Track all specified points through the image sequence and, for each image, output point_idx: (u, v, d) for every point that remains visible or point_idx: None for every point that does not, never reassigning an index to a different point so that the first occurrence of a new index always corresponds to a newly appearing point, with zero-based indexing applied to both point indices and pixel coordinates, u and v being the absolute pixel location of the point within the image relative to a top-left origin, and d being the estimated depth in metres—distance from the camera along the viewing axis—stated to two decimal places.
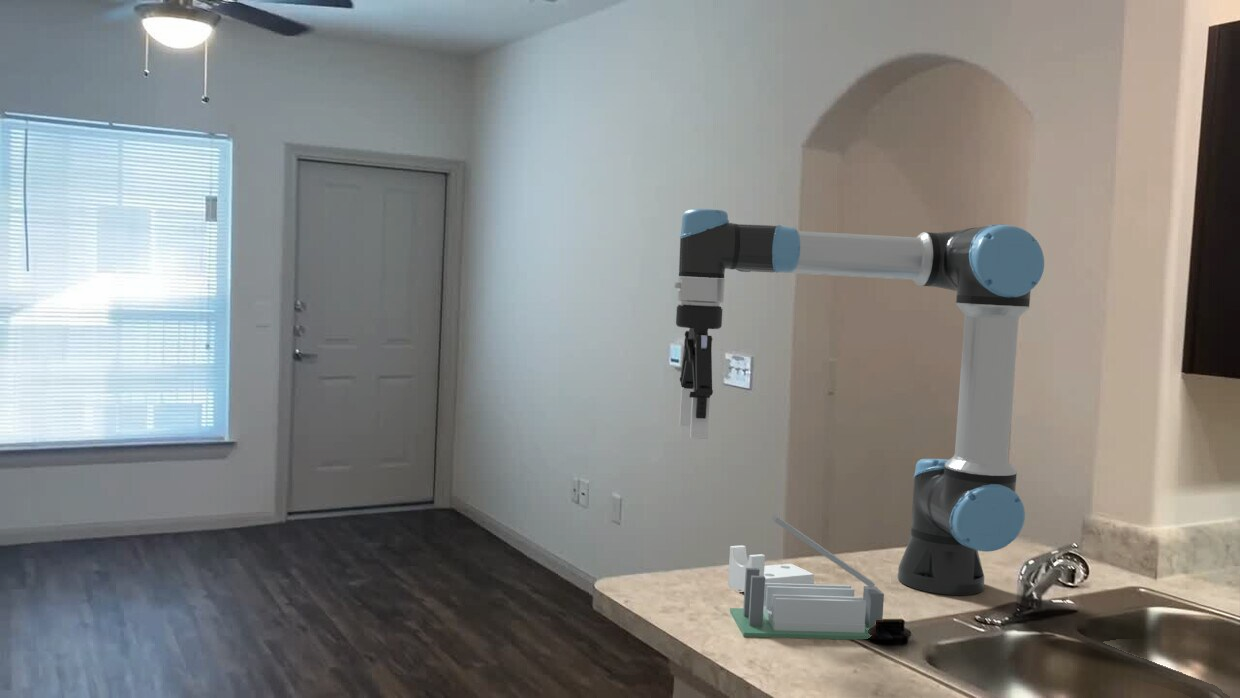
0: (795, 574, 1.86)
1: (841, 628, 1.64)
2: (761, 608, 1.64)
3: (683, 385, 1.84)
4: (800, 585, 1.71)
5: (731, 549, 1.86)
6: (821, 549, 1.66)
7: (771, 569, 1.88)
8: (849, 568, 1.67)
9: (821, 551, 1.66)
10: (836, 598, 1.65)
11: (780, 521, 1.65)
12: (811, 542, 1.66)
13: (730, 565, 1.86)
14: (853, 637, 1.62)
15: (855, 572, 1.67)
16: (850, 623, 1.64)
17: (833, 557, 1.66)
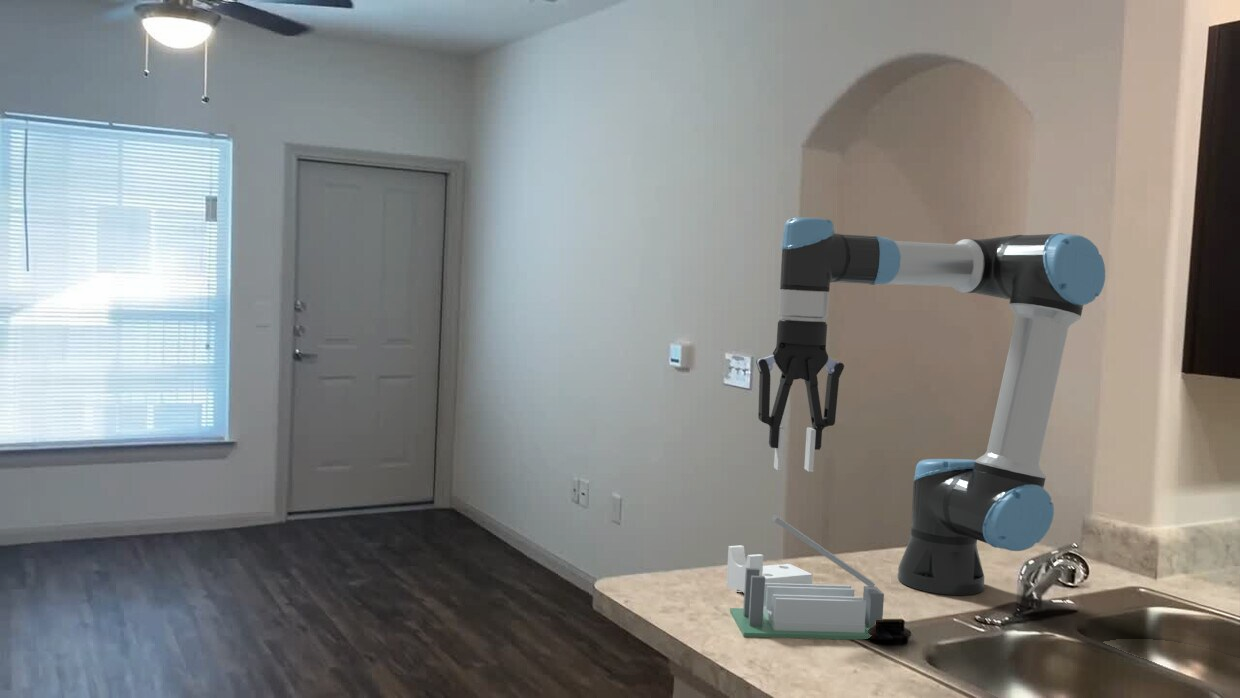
0: (793, 574, 1.85)
1: (841, 628, 1.64)
2: (761, 608, 1.64)
3: None
4: (800, 585, 1.71)
5: (729, 549, 1.86)
6: (821, 549, 1.66)
7: (769, 569, 1.87)
8: (849, 568, 1.67)
9: (821, 551, 1.66)
10: (836, 598, 1.65)
11: (780, 521, 1.65)
12: (811, 542, 1.66)
13: (728, 565, 1.86)
14: (853, 637, 1.62)
15: (855, 572, 1.67)
16: (850, 623, 1.64)
17: (833, 557, 1.66)
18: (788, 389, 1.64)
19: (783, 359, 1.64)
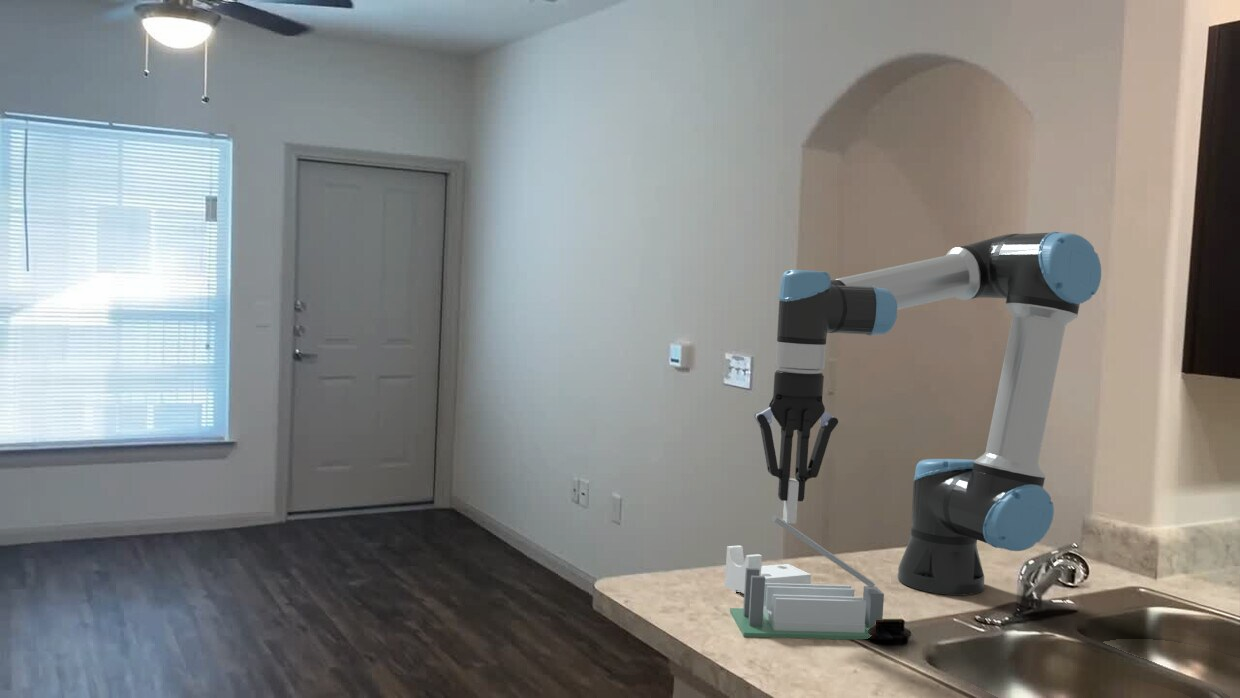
0: (792, 574, 1.85)
1: (841, 628, 1.64)
2: (761, 608, 1.64)
3: (795, 473, 1.67)
4: (800, 585, 1.71)
5: (728, 549, 1.86)
6: (821, 549, 1.66)
7: (767, 570, 1.87)
8: (849, 568, 1.67)
9: (821, 551, 1.66)
10: (836, 598, 1.65)
11: (780, 521, 1.65)
12: (811, 542, 1.66)
13: (727, 565, 1.86)
14: (853, 637, 1.62)
15: (855, 572, 1.67)
16: (850, 623, 1.64)
17: (833, 557, 1.66)
18: (790, 441, 1.64)
19: (780, 410, 1.64)
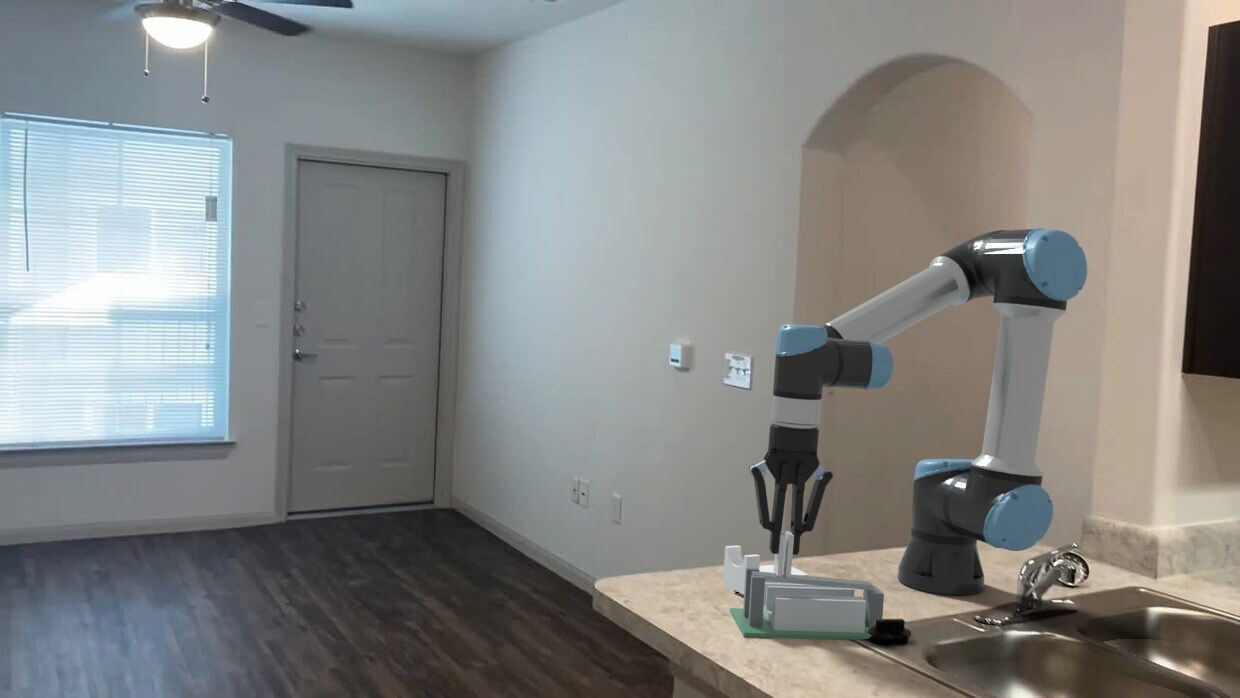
0: None
1: (841, 628, 1.64)
2: (761, 608, 1.64)
3: None
4: (800, 585, 1.71)
5: (726, 549, 1.86)
6: (808, 581, 1.66)
7: (766, 570, 1.87)
8: (842, 584, 1.67)
9: (809, 582, 1.66)
10: (836, 598, 1.65)
11: None
12: (796, 580, 1.66)
13: (725, 565, 1.86)
14: (853, 637, 1.62)
15: (850, 584, 1.67)
16: (850, 623, 1.64)
17: (823, 582, 1.66)
18: (784, 494, 1.65)
19: (775, 464, 1.65)
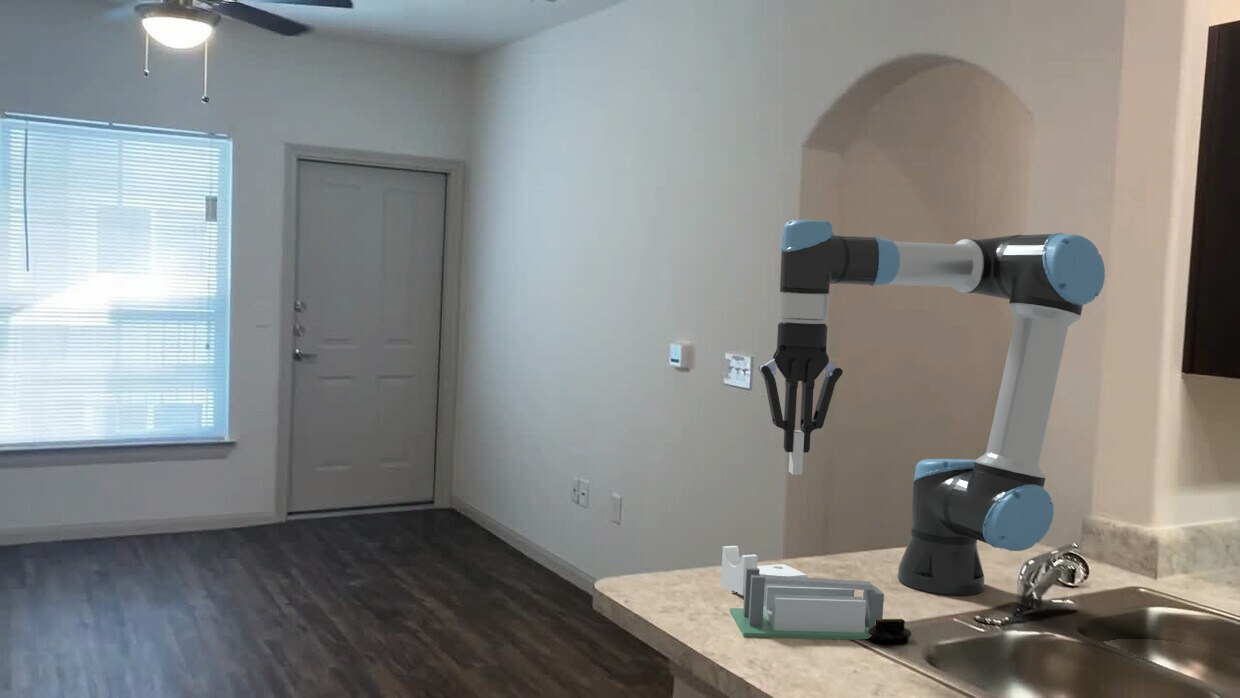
0: (787, 574, 1.85)
1: (841, 628, 1.64)
2: (761, 608, 1.64)
3: (800, 424, 1.67)
4: None
5: (724, 549, 1.86)
6: (808, 582, 1.66)
7: (763, 570, 1.87)
8: (842, 584, 1.67)
9: (809, 584, 1.66)
10: (836, 598, 1.65)
11: None
12: (796, 582, 1.66)
13: (723, 565, 1.86)
14: (853, 637, 1.62)
15: (850, 585, 1.67)
16: (850, 623, 1.64)
17: (823, 583, 1.66)
18: (795, 392, 1.64)
19: (784, 361, 1.64)
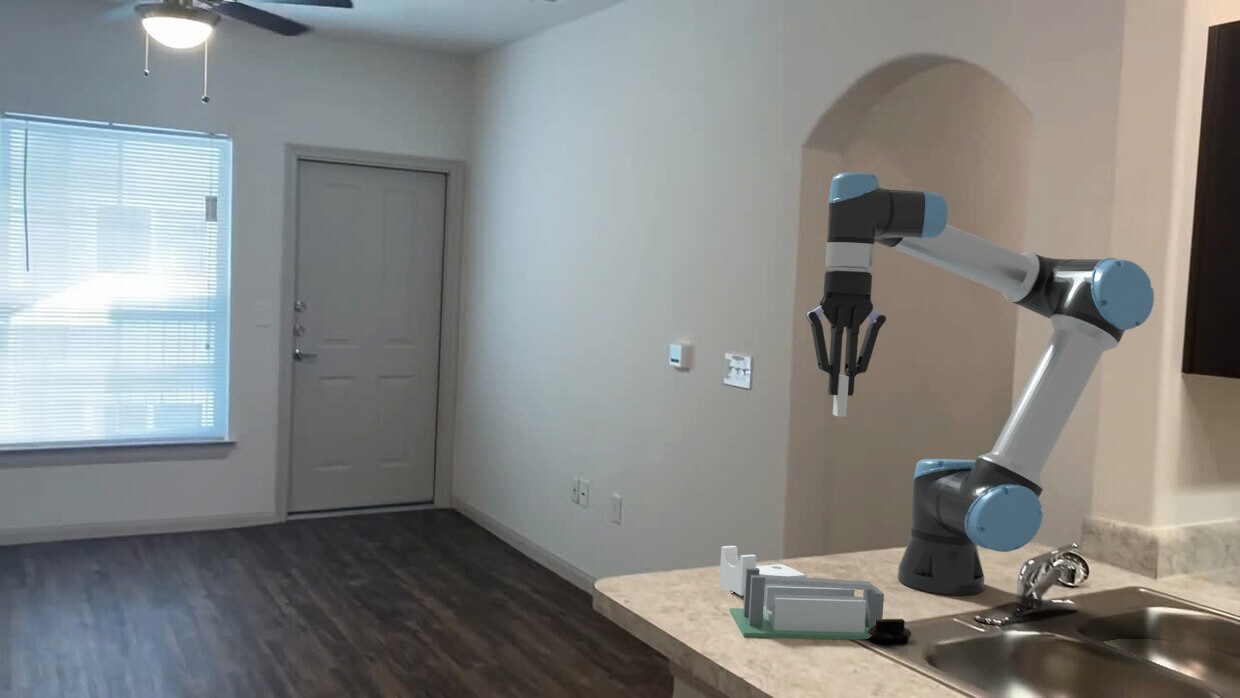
0: (786, 574, 1.85)
1: (841, 628, 1.64)
2: (761, 608, 1.64)
3: (844, 369, 1.75)
4: None
5: (722, 549, 1.86)
6: (808, 582, 1.66)
7: (762, 570, 1.87)
8: (842, 584, 1.67)
9: (809, 584, 1.66)
10: (836, 598, 1.65)
11: None
12: (796, 582, 1.66)
13: (721, 566, 1.86)
14: (853, 637, 1.62)
15: (850, 585, 1.67)
16: (850, 623, 1.64)
17: (823, 583, 1.66)
18: (840, 337, 1.72)
19: (831, 308, 1.72)
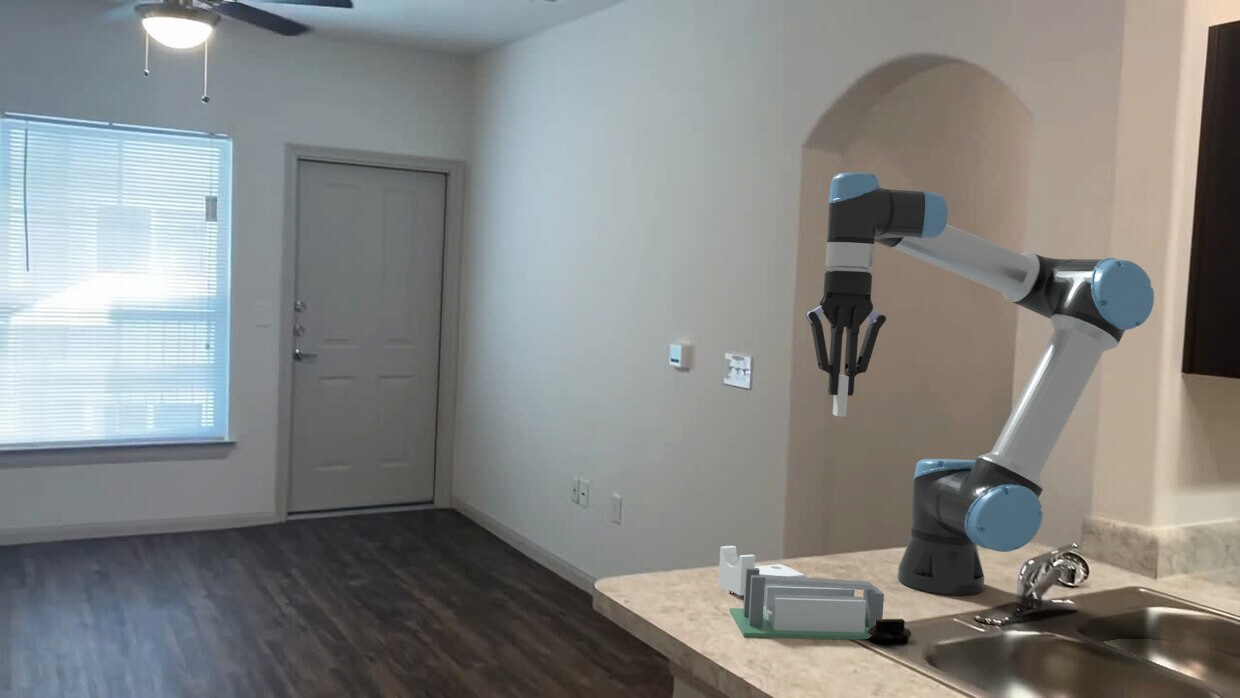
0: (785, 574, 1.85)
1: (841, 628, 1.64)
2: (761, 608, 1.64)
3: (844, 369, 1.75)
4: None
5: (721, 549, 1.85)
6: (808, 582, 1.66)
7: (761, 570, 1.87)
8: (842, 584, 1.67)
9: (809, 584, 1.66)
10: (836, 598, 1.65)
11: None
12: (796, 582, 1.66)
13: (720, 566, 1.86)
14: (853, 637, 1.62)
15: (850, 585, 1.67)
16: (850, 623, 1.64)
17: (823, 583, 1.66)
18: (840, 337, 1.72)
19: (831, 308, 1.72)
